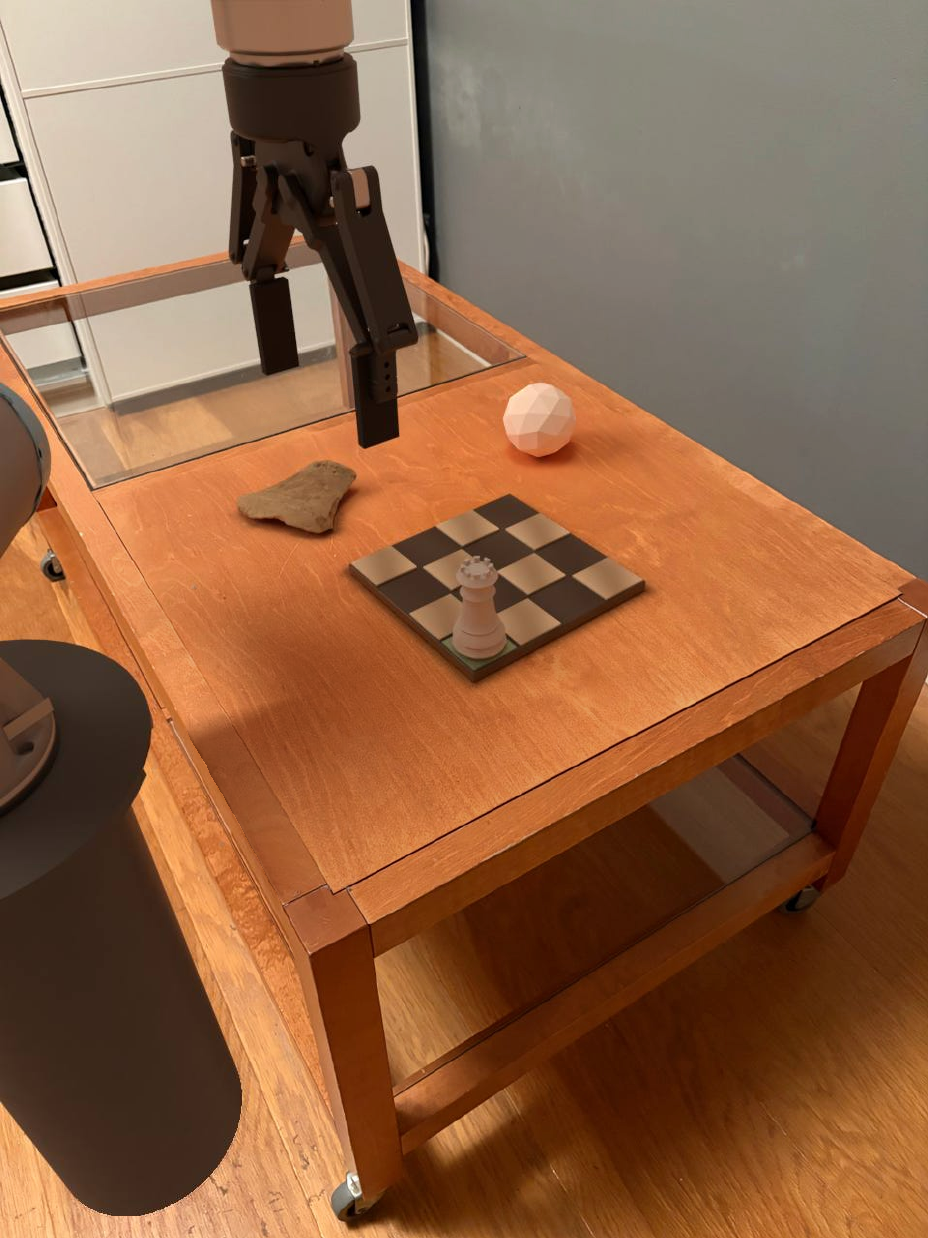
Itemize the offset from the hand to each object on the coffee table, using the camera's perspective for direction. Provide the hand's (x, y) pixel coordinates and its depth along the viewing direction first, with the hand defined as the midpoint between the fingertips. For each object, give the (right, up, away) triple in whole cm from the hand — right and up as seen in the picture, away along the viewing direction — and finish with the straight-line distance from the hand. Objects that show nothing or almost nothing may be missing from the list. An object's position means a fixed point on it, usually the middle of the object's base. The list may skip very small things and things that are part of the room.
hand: (326, 403), depth 66 cm
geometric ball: (+18, +3, +38) cm, 43 cm away
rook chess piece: (+11, -17, +12) cm, 24 cm away
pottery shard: (-7, -4, +31) cm, 32 cm away
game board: (+12, -12, +20) cm, 26 cm away
